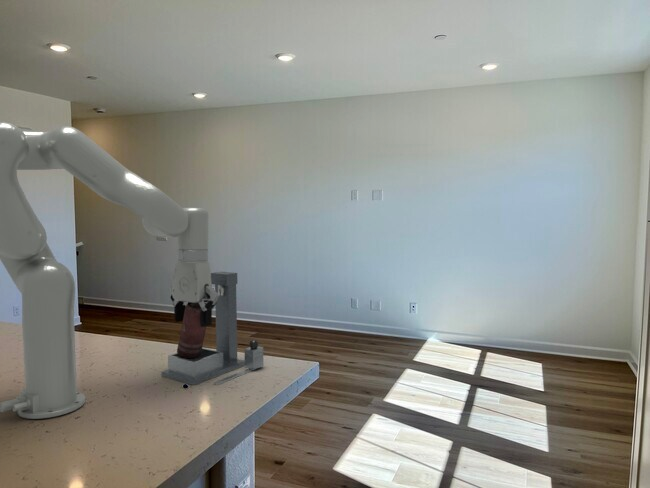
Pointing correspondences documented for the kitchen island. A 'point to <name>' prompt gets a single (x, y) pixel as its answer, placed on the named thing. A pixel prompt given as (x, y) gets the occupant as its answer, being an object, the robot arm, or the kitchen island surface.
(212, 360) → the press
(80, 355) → the kitchen island surface
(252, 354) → the lever
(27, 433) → the kitchen island surface
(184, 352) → the red can
